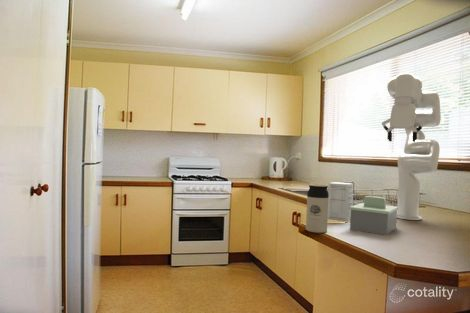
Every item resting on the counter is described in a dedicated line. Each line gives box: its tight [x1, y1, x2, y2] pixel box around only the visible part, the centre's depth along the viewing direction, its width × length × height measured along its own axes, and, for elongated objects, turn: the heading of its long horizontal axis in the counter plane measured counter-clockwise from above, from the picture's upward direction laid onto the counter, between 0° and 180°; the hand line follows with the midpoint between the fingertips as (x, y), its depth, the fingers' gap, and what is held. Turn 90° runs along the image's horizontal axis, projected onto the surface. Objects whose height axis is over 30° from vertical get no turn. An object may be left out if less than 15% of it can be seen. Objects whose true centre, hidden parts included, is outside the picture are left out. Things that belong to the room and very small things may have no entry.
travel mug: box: [305, 182, 329, 234], centre depth 144 cm, size 8×8×18 cm
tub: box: [349, 210, 398, 236], centre depth 154 cm, size 18×14×8 cm
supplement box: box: [327, 181, 354, 222], centre depth 174 cm, size 10×9×17 cm
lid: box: [349, 195, 399, 214], centre depth 154 cm, size 19×15×6 cm
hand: (401, 141), depth 165 cm, fingers open, 9 cm apart
